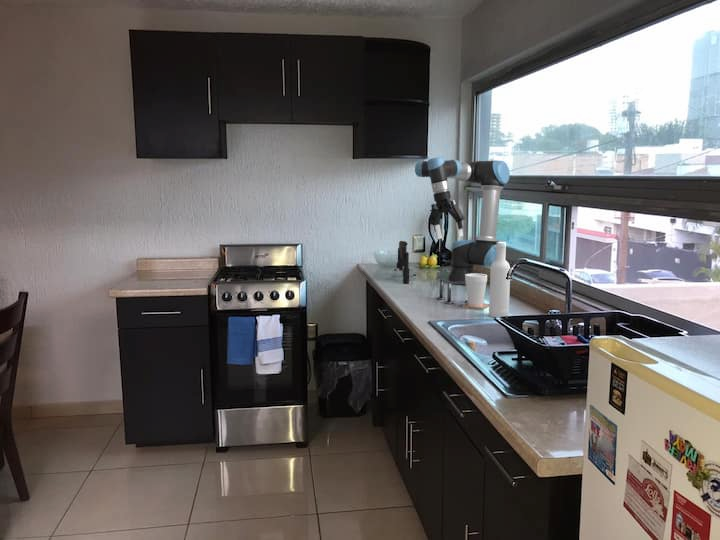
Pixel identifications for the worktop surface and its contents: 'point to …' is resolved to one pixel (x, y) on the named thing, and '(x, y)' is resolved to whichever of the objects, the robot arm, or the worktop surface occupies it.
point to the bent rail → (448, 291)
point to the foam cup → (475, 288)
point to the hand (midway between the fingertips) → (449, 237)
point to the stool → (403, 266)
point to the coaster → (475, 306)
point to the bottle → (499, 283)
